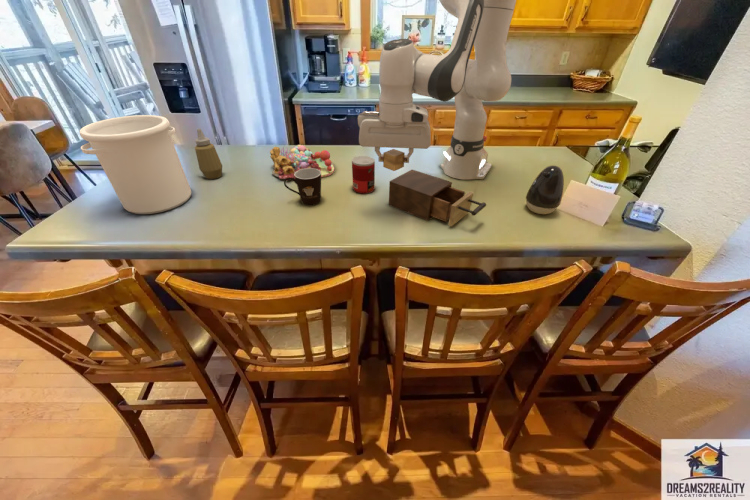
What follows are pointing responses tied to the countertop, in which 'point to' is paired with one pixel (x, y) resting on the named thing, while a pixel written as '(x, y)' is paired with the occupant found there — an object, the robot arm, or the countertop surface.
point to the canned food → (363, 174)
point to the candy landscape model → (300, 161)
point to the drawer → (453, 205)
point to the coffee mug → (307, 185)
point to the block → (393, 159)
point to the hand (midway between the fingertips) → (393, 161)
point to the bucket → (139, 161)
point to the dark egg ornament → (546, 191)
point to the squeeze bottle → (207, 157)
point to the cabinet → (415, 192)
